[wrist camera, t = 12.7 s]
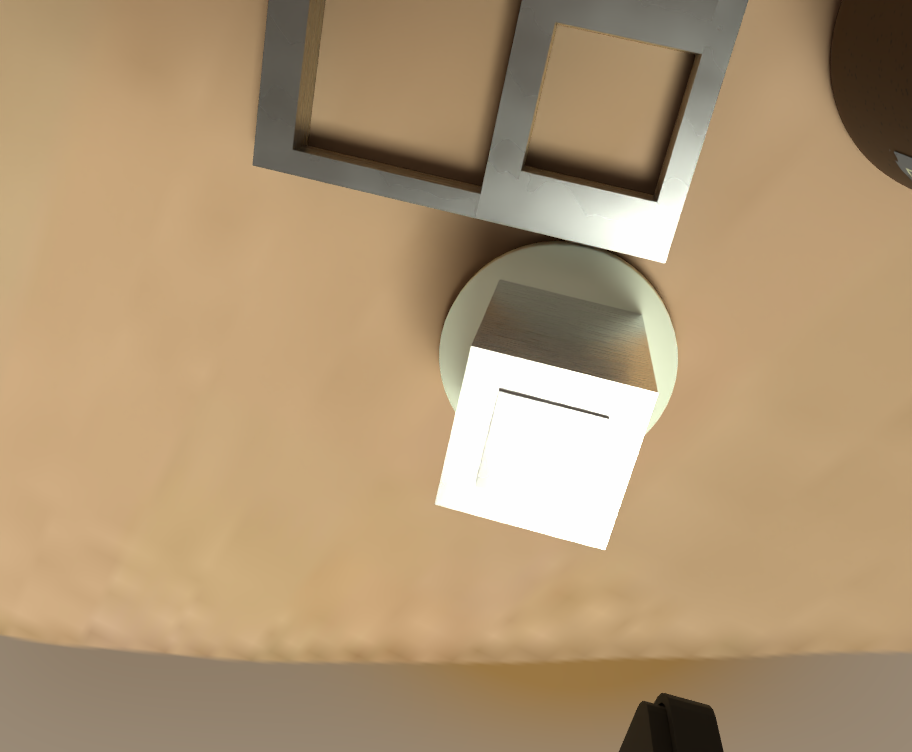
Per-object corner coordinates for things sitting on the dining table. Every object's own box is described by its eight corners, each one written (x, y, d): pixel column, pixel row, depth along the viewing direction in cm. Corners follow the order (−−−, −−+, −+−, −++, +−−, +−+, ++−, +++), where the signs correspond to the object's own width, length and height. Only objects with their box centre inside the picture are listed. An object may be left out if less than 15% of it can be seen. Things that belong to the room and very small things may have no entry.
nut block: (499, 279, 27) (470, 347, 21) (642, 314, 27) (658, 395, 20) (469, 407, 29) (433, 507, 22) (602, 441, 29) (605, 553, 22)
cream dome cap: (424, 427, 31) (419, 436, 30) (468, 216, 27) (464, 220, 27) (636, 482, 30) (637, 492, 29) (708, 272, 27) (711, 279, 26)
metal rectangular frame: (269, 160, 28) (252, 165, 26) (296, -98, 25) (278, -107, 23) (661, 252, 27) (664, 263, 25) (741, -4, 24) (750, -8, 22)
